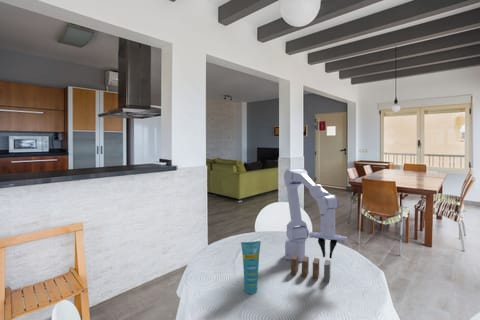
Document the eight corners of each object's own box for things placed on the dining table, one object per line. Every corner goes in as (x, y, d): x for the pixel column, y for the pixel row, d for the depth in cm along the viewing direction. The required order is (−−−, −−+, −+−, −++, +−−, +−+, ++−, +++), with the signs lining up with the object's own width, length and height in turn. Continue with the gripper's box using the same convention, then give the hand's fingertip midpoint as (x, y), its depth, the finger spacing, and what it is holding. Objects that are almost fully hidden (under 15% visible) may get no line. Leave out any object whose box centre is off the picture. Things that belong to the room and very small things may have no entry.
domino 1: (291, 274, 109) (291, 258, 109) (293, 269, 114) (293, 254, 113) (295, 275, 108) (295, 259, 108) (298, 270, 113) (298, 255, 112)
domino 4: (323, 281, 103) (324, 264, 103) (325, 275, 108) (325, 259, 108) (329, 282, 102) (329, 265, 102) (330, 276, 107) (330, 260, 107)
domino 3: (312, 279, 105) (312, 262, 105) (314, 273, 110) (314, 257, 109) (317, 280, 104) (317, 263, 104) (319, 274, 109) (319, 258, 109)
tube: (243, 295, 94) (242, 244, 93) (240, 288, 98) (239, 239, 98) (262, 292, 95) (262, 242, 94) (258, 285, 100) (258, 238, 99)
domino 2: (301, 276, 107) (301, 260, 107) (303, 271, 112) (304, 256, 111) (306, 277, 106) (306, 261, 106) (308, 272, 111) (308, 256, 110)
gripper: (308, 224, 103) (307, 257, 104) (346, 229, 97) (345, 264, 98) (310, 220, 110) (310, 251, 110) (347, 224, 104) (346, 256, 104)
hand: (327, 256), depth 105 cm, fingers closed
